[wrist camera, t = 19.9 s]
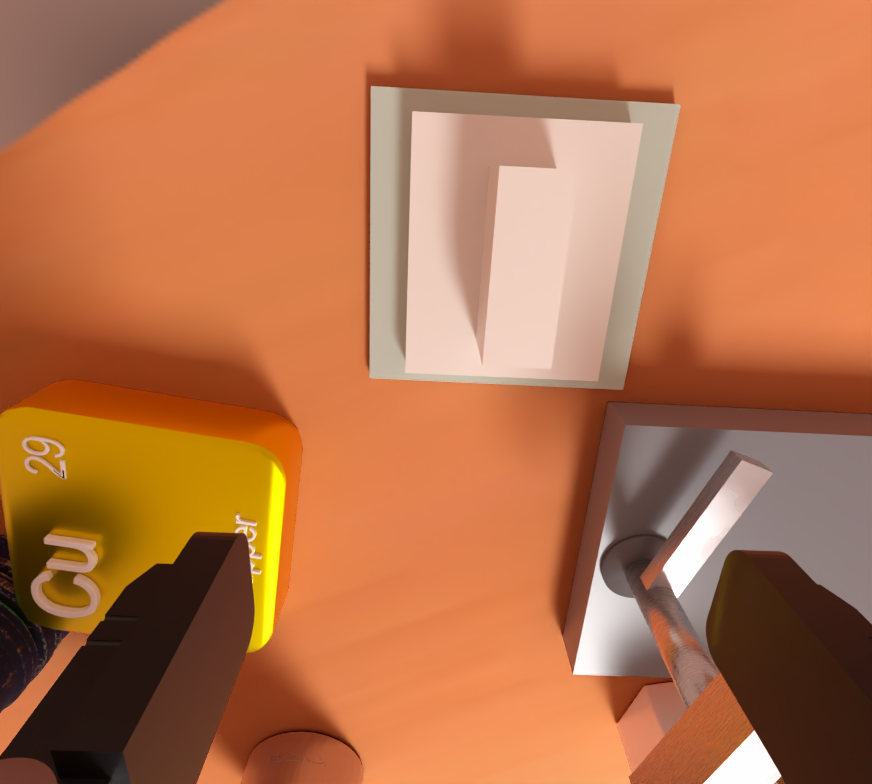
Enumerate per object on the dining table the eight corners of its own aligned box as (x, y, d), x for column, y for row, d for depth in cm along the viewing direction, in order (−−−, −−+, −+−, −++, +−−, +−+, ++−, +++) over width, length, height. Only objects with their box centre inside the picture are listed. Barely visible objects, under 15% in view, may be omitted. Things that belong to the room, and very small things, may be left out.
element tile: (287, 608, 37) (267, 668, 33) (63, 577, 36) (10, 634, 31) (307, 414, 31) (286, 454, 27) (41, 370, 30) (-26, 405, 26)
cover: (590, 371, 29) (622, 413, 24) (406, 363, 29) (400, 404, 24) (631, 126, 25) (683, 115, 19) (413, 114, 24) (407, 100, 19)
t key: (754, 452, 28) (942, 620, 17) (616, 638, 33) (700, 854, 22) (713, 436, 27) (881, 597, 17) (580, 626, 32) (649, 840, 22)
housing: (884, 648, 38) (924, 690, 35) (562, 636, 37) (574, 678, 34) (1001, 420, 31) (1062, 447, 28) (607, 401, 31) (627, 427, 28)
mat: (619, 385, 30) (623, 390, 30) (370, 374, 30) (369, 378, 29) (675, 105, 25) (680, 104, 24) (372, 87, 24) (370, 85, 24)
